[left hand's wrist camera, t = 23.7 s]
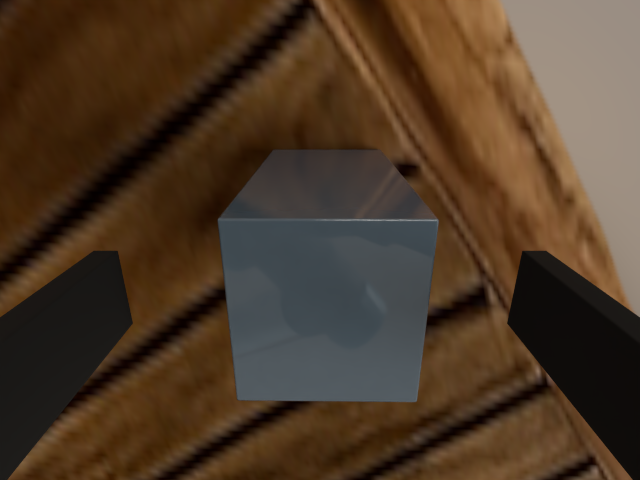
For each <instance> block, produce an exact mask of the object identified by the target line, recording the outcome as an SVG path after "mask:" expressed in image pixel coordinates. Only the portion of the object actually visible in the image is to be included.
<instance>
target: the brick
mask: <svg viewBox="0 0 640 480" xmlns="http://www.w3.org/2000/svg"><path fill="white" fill-rule="evenodd" d="M438 223H439V220H438V218H437V217H436V216H435V215H434V214H433V212H432V211H431V210H430V209H429V208H428V206H427V205H426V204H425V203H424V202H423V200H422V199H421V198H420V197H419V196H418V194H417V193H416V192H415V191H414V190H413V188H412V187H411V186H410V185H409V184H408V182H407V181H406V180H405V179H404V178H403V176H402V175H401V174H400V173H399V172H398V170H397V169H396V168H395V167H394V166H393V164H392V163H391V162H390V161H389V159H388V158H387V157H386V156H385V155H384V153H383V152H382V151H381V150H273V151H272V152H271V153H270V155H269V156H268V157H267V158H266V160H265V161H264V162H263V163H262V165H261V166H260V167H259V168H258V170H257V171H256V172H255V173H254V175H253V176H252V177H251V178H250V180H249V181H248V182H247V183H246V185H245V186H244V187H243V188H242V190H241V191H240V192H239V193H238V195H237V196H236V197H235V198H234V199H233V201H232V202H231V203H230V204H229V206H228V207H227V208H226V209H225V211H224V212H223V213H222V214H221V216H220V217H219V218H218V229H219V238H220V247H221V256H222V266H223V275H224V284H225V293H226V302H227V312H228V321H229V330H230V339H231V348H232V358H233V367H234V376H235V385H236V394H237V400H257V401H360V402H416V401H417V395H418V387H419V379H420V371H421V362H422V354H423V346H424V338H425V330H426V321H427V313H428V305H429V297H430V289H431V280H432V272H433V264H434V256H435V248H436V239H437V231H438Z"/></svg>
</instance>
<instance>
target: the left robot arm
mask: <svg viewBox="0 0 640 480" xmlns="http://www.w3.org/2000/svg"><path fill="white" fill-rule="evenodd" d="M132 324H133V322H132V318H131V313H130V308H129V303H128V298H127V294H126V289H125V284H124V279H123V275H122V270H121V265H120V260H119V256H118V251H93V252H92V253H90V254H89V255H87V256H86V257H85V258H83V259H82V260H80V261H79V262H78V263H76V264H75V265H73V266H72V267H71V268H69V269H68V270H66V271H65V272H63V273H62V274H61V275H59V276H58V277H56V278H55V279H54V280H52V281H51V282H49V283H48V284H47V285H45V286H44V287H42V288H41V289H40V290H38V291H37V292H35V293H34V294H33V295H31V296H30V297H28V298H27V299H26V300H24V301H23V302H21V303H20V304H18V305H17V306H16V307H14V308H13V309H11V310H10V311H9V312H7V313H6V314H4V315H3V316H2V317H0V480H7V479H8V478H9V477H10V476H11V474H12V473H13V472H14V471H15V469H16V468H17V467H18V466H19V464H20V463H21V462H22V461H23V459H24V458H25V457H26V456H27V454H28V453H29V452H30V451H31V449H32V448H33V447H34V446H35V444H36V443H37V442H38V441H39V439H40V438H41V437H42V436H43V434H44V433H45V432H46V431H47V429H48V428H49V427H50V426H51V424H52V423H53V422H54V421H55V419H56V418H57V417H58V416H59V415H60V413H61V412H62V411H63V410H64V408H65V407H66V406H67V405H68V403H69V402H70V401H71V400H72V398H73V397H74V396H75V395H76V393H77V392H78V391H79V390H80V388H81V387H82V386H83V385H84V383H85V382H86V381H87V380H88V378H89V377H90V376H91V375H92V373H93V372H94V371H95V370H96V368H97V367H98V366H99V365H100V363H101V362H102V361H103V360H104V358H105V357H106V356H107V355H108V353H109V352H110V351H111V350H112V349H113V347H114V346H115V345H116V344H117V342H118V341H119V340H120V339H121V337H122V336H123V335H124V334H125V332H126V331H127V330H128V329H129V327H130V326H131V325H132ZM507 324H508V325H509V326H510V327H511V329H512V330H513V331H514V332H515V334H516V335H517V336H518V337H519V339H520V340H521V341H522V342H523V344H524V345H525V346H526V347H527V349H528V350H529V351H530V352H531V354H532V355H533V356H534V357H535V358H536V360H537V361H538V362H539V363H540V365H541V366H542V367H543V368H544V370H545V371H546V372H547V373H548V375H549V376H550V377H551V378H552V380H553V381H554V382H555V383H556V385H557V386H558V387H559V388H560V390H561V391H562V392H563V393H564V395H565V396H566V397H567V398H568V400H569V401H570V402H571V403H572V405H573V406H574V407H575V408H576V410H577V411H578V412H579V413H580V415H581V416H582V417H583V418H584V419H585V421H586V422H587V423H588V424H589V426H590V427H591V428H592V429H593V431H594V432H595V433H596V434H597V436H598V437H599V438H600V439H601V441H602V442H603V443H604V444H605V446H606V447H607V448H608V449H609V451H610V452H611V453H612V454H613V456H614V457H615V458H616V459H617V461H618V462H619V463H620V464H621V466H622V467H623V468H624V469H625V471H626V472H627V473H628V474H629V476H630V477H631V478H632V479H633V480H640V317H638V316H637V315H636V314H634V313H633V312H631V311H630V310H629V309H627V308H626V307H624V306H623V305H622V304H620V303H619V302H617V301H616V300H614V299H613V298H612V297H610V296H609V295H607V294H606V293H605V292H603V291H602V290H600V289H599V288H598V287H596V286H595V285H593V284H592V283H591V282H589V281H588V280H586V279H585V278H584V277H582V276H581V275H579V274H578V273H577V272H575V271H574V270H572V269H571V268H569V267H568V266H567V265H565V264H564V263H562V262H561V261H560V260H558V259H557V258H555V257H554V256H553V255H551V254H550V253H548V252H547V251H522V256H521V260H520V265H519V270H518V275H517V279H516V284H515V289H514V294H513V298H512V303H511V308H510V313H509V318H508V322H507Z"/></svg>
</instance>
